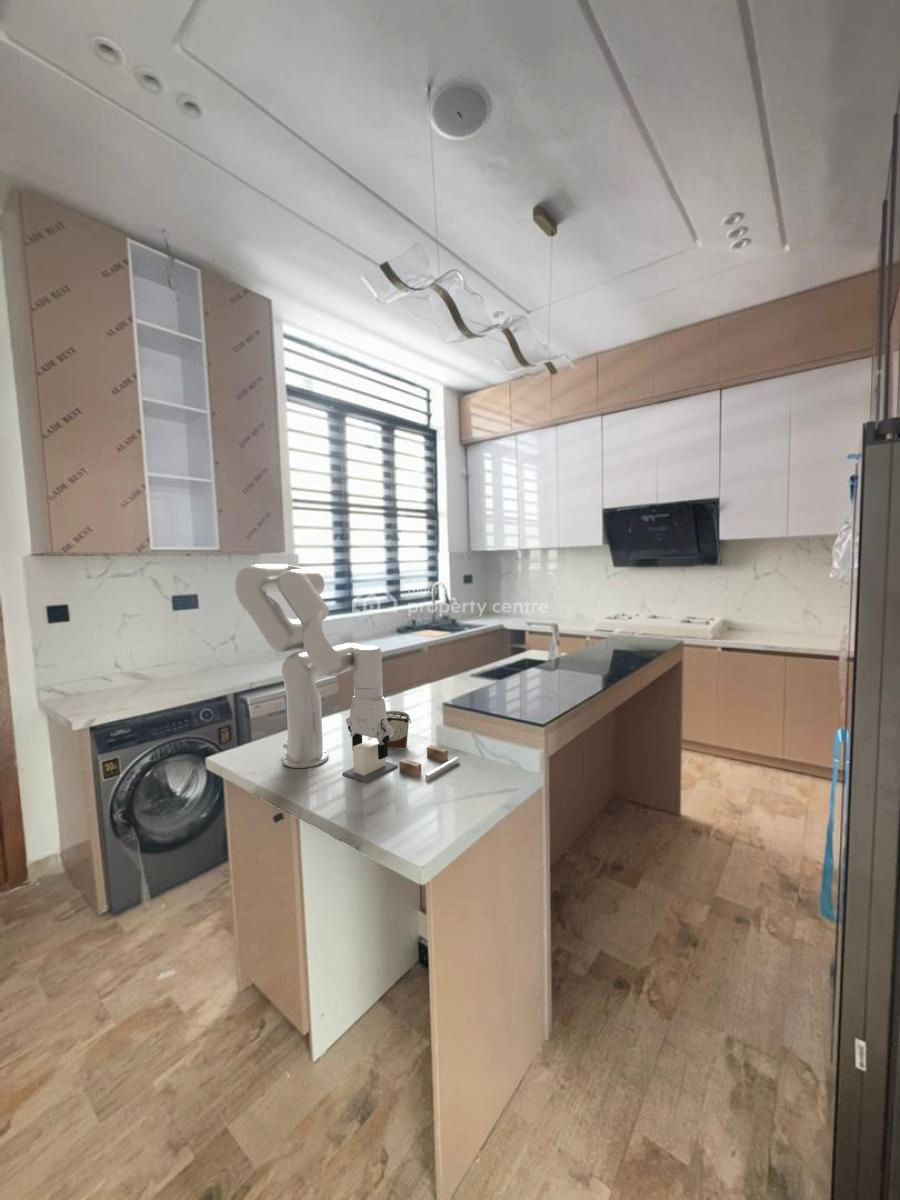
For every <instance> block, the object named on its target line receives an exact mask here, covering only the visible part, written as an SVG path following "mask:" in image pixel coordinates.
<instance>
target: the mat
mask: <svg viewBox="0 0 900 1200" xmlns="http://www.w3.org/2000/svg"><path fill="white" fill-rule="evenodd" d="M398 765H399V764H395V763H392V762H388V761H386V760H385V766H383V767H381V768H379V769H377V770H375V771H373V772H371V773H369V774H367V775H361V774H358V773H355V772H354V767H351V768H350V769H347V770H346V771H343V772H342V776H344V775H345V777H347V776H348V778H350V779H353V780H356V779H357V780H356V781H358V780H360V781H359V782H361V781H362V783H364V782H365V784H368V783H370V782H372V781H373V779H374V780H376V779H377V778H380V777H382V776H384V775H385V774H387V773H389V772H392V771H393V770H395V769H397V768H398ZM379 776H380V777H379ZM375 778H376V779H375ZM371 780H372V781H371ZM369 781H370V782H369ZM367 782H368V783H367Z"/></svg>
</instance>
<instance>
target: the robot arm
mask: <svg viewBox="0 0 900 1200" xmlns="http://www.w3.org/2000/svg"><path fill="white" fill-rule="evenodd" d="M235 577H236V578H235V583H234V589H235V593H236V597H237V599H238V601H239V603H240V604H241V606H242V607H243V609H244V610H245V611H246V613H247V614H248V615H249V616H250V618H251V619H252V620H253V622H254V623H255V625H256V627H257V628H258V629H259V631H260V633H261V635H262V636H263V638H264V639H265V641H266V643H267V644H268V646H270V648H271V649H272V651H274V652H275V653H276V654H279V655H283V654H289V653H292V654H290V655H289V656H287V657H286V658H285V659H284V661H283V663H282V665H281V676H282V680H283V684H284V685H283V686H284V689H285V701H286V717H287V719H286V720H287V723H286V724H287V741H286V742H285V743H283V745H282V747H283V748H284V749H285V750H286V751H287V753H286V754H285V755H284V757H282V761H283V762H282V763H283V765H284V766H286V767H288V768H293V769H304V768H312V767H316V766H319V765H321V764H323V763H325V762H326V761H328V759H329V752H328V751H327V749H324V744H323V743H324V742H323V720H322V719H323V716H322V715H323V714H322V696H321V693H320V691H319V689H318V686H317V684H316V682H317V681H318V682H319V681H321V680H324V679H325V678H328V677H334V676H335V677H336V676H338V675H340V674H343V673H347V672H349V671H353V688H352V689H353V691H354V692H353V693H354V695H353V696H352V699H351V704H350V716H349V717H347V718H345V721H346V726H347V729H348V731H349V733H350V734H349V736H350V737H351V744H352V745H351V747H352V751H353V746H356V745H358V744H361V743H363V736H365V737H367V738H371V739H373V738H375V737H376V738H377V740H378V742H379V745H378V759H380V760H381V759H383V758H385V759H386V758H387V757H388V756H389V748H388V742H390V740H391V739H392V736H393V734H394V731H395V730H394V728H393V727H391V726H390V725H389V724H388V723H387V714H386V711H387V707H386V702H385V697H384V695H383V693H384V692H383V689H384V688H383V657H382V655H383V654H382V653H383V652H382V649H381V647H379V646H376V645H362V644H358V643H355V642H345V643H342V644H337V645H334V646H332V645H331V643H330V642H329V641H328V639H327V637H326V635H325V634H324V631H323V621H324V620H325V619H326V618H327V617H328V615H329V613H330V609H329V606H328V605H327V604H326V602H325V601H324V599H323V598H322V596H321V594H322V593H323V591H324V590H325V589H324V588H325V580H324V578H323V576H322V575H321V573H320V572H318V571H317V570H316V569H313V568H308V567H304V566H303V567H302V566H297V565H291V564H287V563H286V564H285V563H255V564H250V565H246V566H244V567H242V568H241V569H240V570H239V571H238V573H237V574H236V576H235ZM277 592H278V593H281V596H282V597H283V598H284V600H285V601H286V603H287V605H288V606H289V607H290V608H291V610H292V612H293V613H294V614H295V616H296V618H290V617H289V616H288V615H287V614H286V612H285V611H284V609H283V608H282V606H281V605H280V603H278V601H276V600H275V599H273V598H272V597H271V596H269V594H267V593H277ZM386 732H387V734H386ZM381 735H382V736H383V739H382V738H381Z"/></svg>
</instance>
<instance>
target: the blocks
mask: <svg viewBox="0 0 900 1200" xmlns="http://www.w3.org/2000/svg"><path fill="white" fill-rule="evenodd" d="M448 754H449V751H448V749H447V748H442V747H439V746H435V745H432V744H431V745H429V746H427V747H426V757H427V758H428V759H431V760H435V761H438V762H441V763H442V762H443V763H442V764H441V765H439V766H438V767H436V768H433V769H431V770H430V771H428V772H427V773H425V781H427V782H430V781H432V780H433V779H435V778H436V777H438V776H440V775H442V774H443V773H445V772H447V771H449V770H450V769H451V767H452V768H454V767H455V766H456V764H457V765H458V764H460V757H459V756H455V757H452V759H450V760H449V759H448V758H449V755H448ZM446 760H447V761H446ZM398 765H399V772H400V773H401V774H404V775H408V776H411V777H414V778H418V777H420V776H421V775H422V763H420V762H416V761H413V760H409V759H406V758H403V759H401V760H399V762H398ZM454 765H455V766H454Z"/></svg>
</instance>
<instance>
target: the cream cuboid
mask: <svg viewBox="0 0 900 1200" xmlns="http://www.w3.org/2000/svg"><path fill="white" fill-rule="evenodd" d="M378 745H379V742H378V740H377V738H375V737H374V738H371V739H368V740H366V741H364V742H363V741H362V743H361V744H358V745H356V746H353V750H352V752H353V753H352V754H353V755H352V759H353V768H354V772H355V773H358V774H361V775H367V774H369V773H371V772H373V771H375V770H377V769H379V768H381V767H383V766H385V761H386V757H385V758H383V759H381V760H380V759H378Z"/></svg>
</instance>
